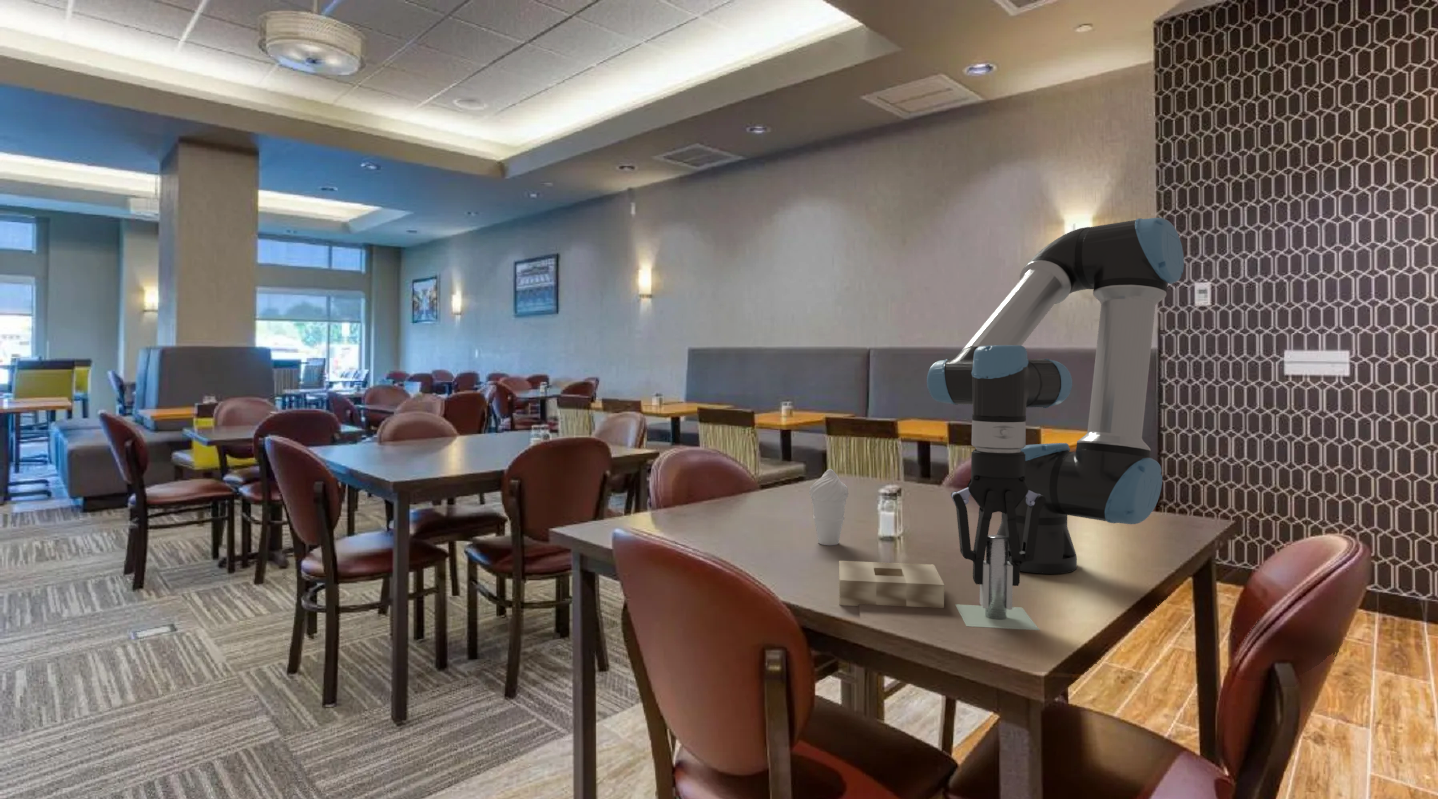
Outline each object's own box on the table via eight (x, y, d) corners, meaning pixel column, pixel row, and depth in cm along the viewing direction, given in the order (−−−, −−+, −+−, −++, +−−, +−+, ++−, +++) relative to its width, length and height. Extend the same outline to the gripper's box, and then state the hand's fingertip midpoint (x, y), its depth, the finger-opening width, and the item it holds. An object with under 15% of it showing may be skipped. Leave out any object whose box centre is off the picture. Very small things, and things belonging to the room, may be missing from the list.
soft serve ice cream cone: (838, 549, 153) (838, 472, 153) (802, 544, 158) (802, 469, 157) (854, 541, 160) (854, 468, 160) (819, 536, 165) (819, 465, 164)
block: (933, 587, 127) (933, 564, 126) (943, 610, 115) (944, 584, 115) (838, 583, 129) (839, 560, 129) (839, 605, 117) (839, 580, 117)
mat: (1021, 610, 115) (1021, 607, 115) (1039, 632, 105) (1039, 629, 105) (955, 606, 116) (955, 604, 116) (966, 628, 107) (966, 626, 107)
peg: (1003, 613, 112) (1005, 535, 112) (1008, 620, 109) (1009, 539, 109) (983, 612, 112) (984, 534, 112) (987, 619, 110) (988, 538, 109)
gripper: (947, 451, 107) (945, 611, 108) (1062, 453, 105) (1058, 617, 106) (939, 445, 115) (937, 595, 116) (1046, 447, 112) (1043, 600, 113)
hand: (995, 605), depth 111 cm, fingers closed on peg, 3 cm apart
